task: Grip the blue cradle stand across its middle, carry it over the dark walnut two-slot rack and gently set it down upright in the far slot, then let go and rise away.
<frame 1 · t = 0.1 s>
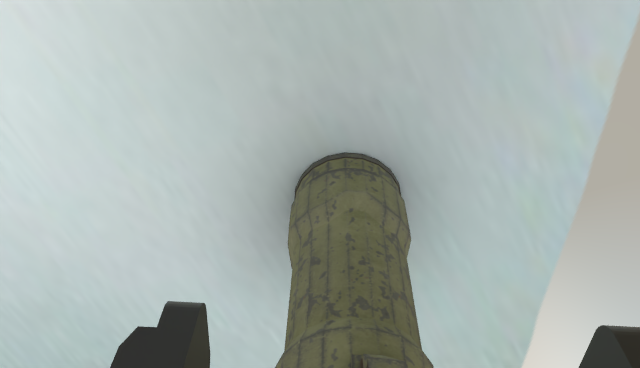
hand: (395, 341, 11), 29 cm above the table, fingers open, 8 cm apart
thermos: (347, 196, 45), on the table
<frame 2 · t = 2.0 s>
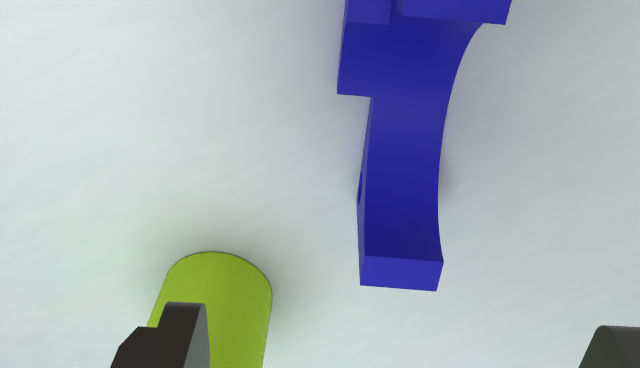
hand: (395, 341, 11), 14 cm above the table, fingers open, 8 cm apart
blue cradle stand: (389, 82, 24), on the table
soap dispenser: (220, 284, 30), on the table
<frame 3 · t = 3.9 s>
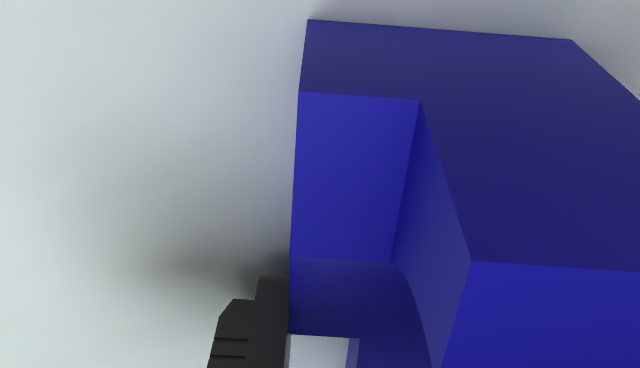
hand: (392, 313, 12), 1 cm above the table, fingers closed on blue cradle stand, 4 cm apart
blue cradle stand: (389, 283, 13), on the table, touching gripper
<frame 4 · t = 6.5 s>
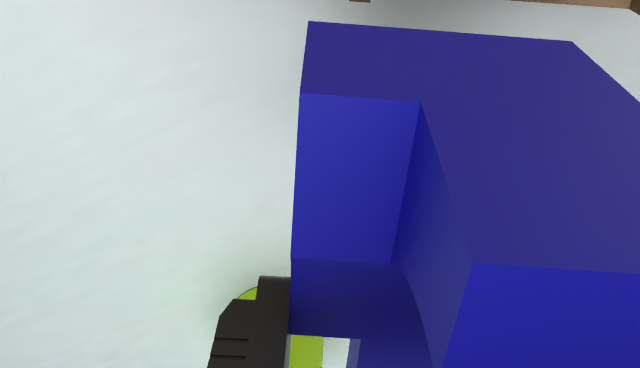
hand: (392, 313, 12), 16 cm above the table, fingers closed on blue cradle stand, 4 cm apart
blue cradle stand: (389, 284, 13), point 15 cm above the table, touching gripper
soap dispenser: (279, 311, 34), on the table
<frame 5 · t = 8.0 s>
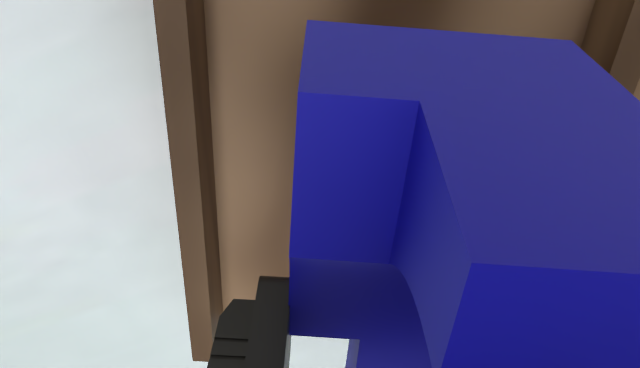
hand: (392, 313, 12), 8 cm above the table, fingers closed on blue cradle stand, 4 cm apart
blue cradle stand: (389, 284, 13), point 7 cm above the table, touching gripper
rack: (546, 153, 19), on the table
when the fingers open (3 cm above the table, at t = 9.2 s): blue cradle stand drops 1 cm, resting on rack.
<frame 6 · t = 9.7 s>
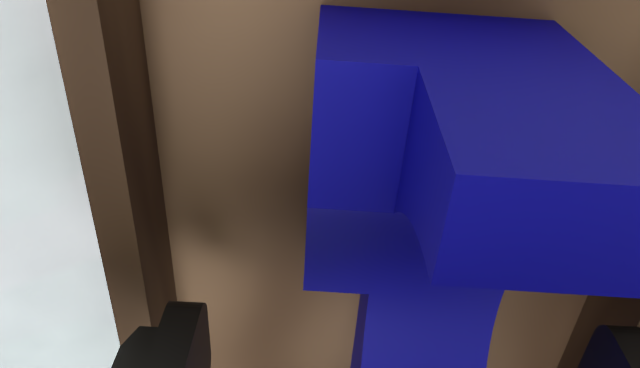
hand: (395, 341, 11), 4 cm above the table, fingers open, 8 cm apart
blue cradle stand: (395, 248, 14), point 1 cm above the table, touching rack
rack: (600, 241, 15), on the table
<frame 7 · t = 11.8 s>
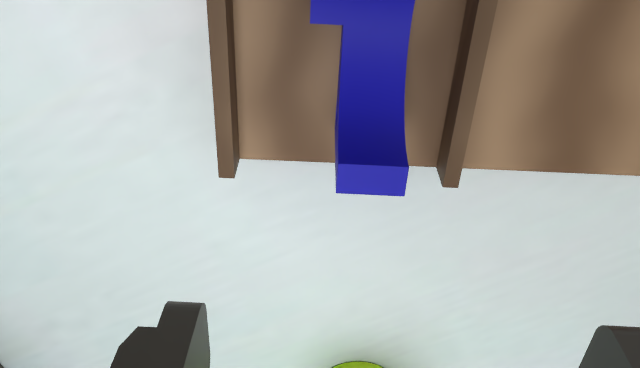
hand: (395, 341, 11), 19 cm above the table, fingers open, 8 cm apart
blue cradle stand: (358, 15, 26), point 1 cm above the table, touching rack
rack: (467, 16, 27), on the table
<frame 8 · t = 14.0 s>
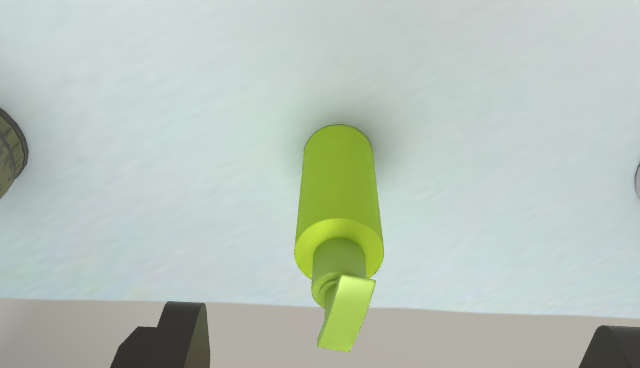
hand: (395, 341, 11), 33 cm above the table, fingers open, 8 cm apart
soap dispenser: (339, 149, 47), on the table
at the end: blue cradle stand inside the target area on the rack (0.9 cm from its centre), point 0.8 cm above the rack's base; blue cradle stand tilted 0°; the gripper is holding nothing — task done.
